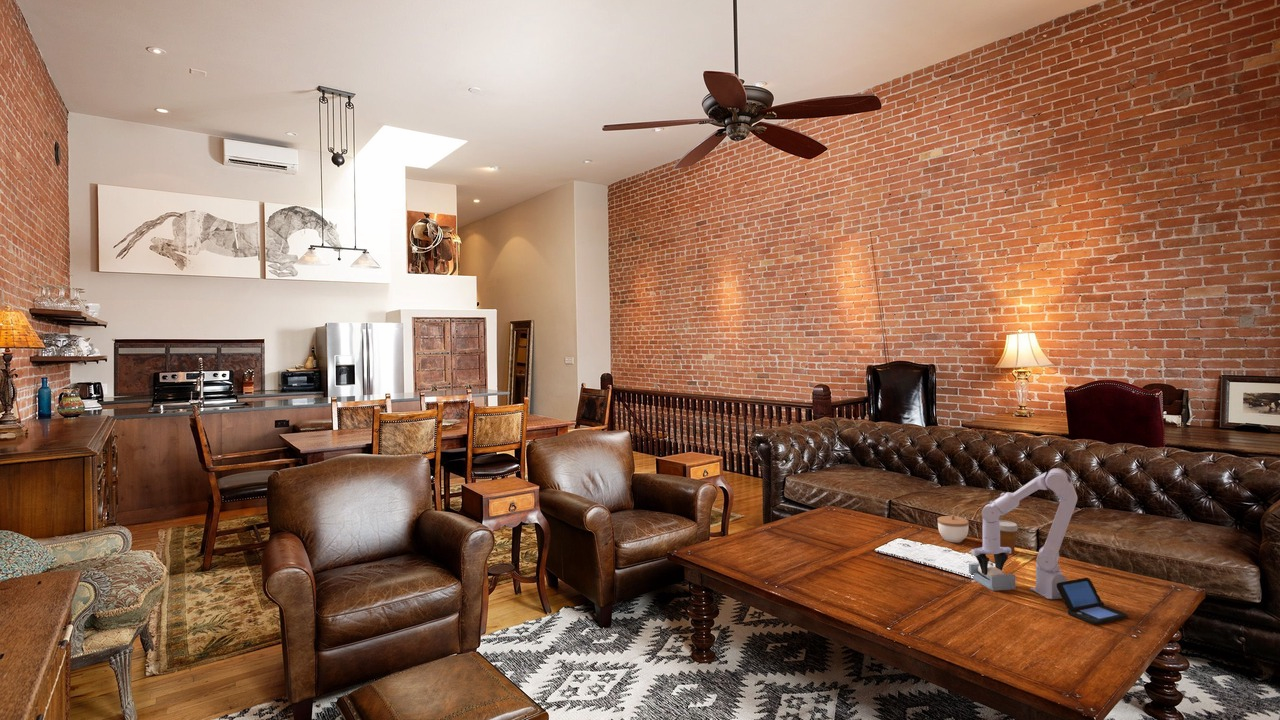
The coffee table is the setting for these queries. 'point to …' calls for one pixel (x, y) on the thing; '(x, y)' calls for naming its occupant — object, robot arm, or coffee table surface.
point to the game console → (1087, 602)
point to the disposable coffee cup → (1008, 534)
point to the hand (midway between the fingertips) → (991, 573)
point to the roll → (991, 571)
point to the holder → (993, 579)
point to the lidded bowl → (953, 528)
